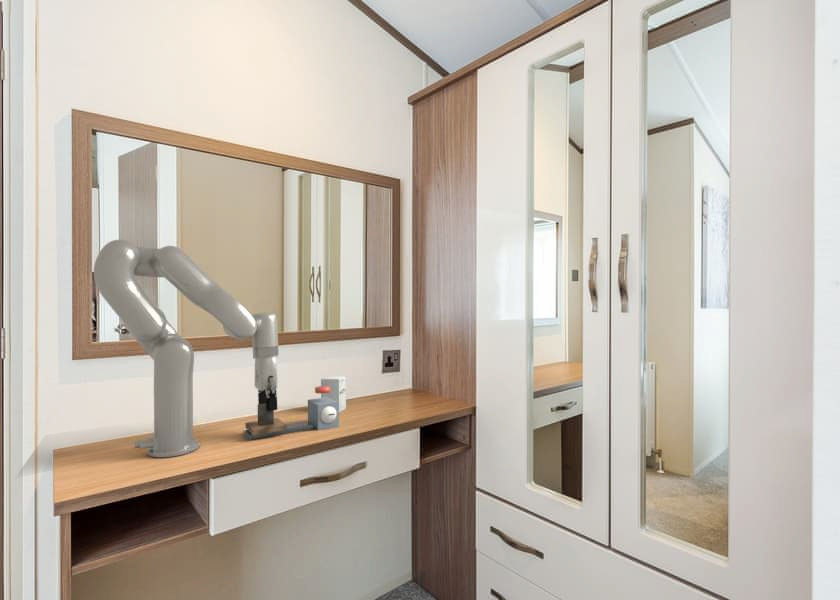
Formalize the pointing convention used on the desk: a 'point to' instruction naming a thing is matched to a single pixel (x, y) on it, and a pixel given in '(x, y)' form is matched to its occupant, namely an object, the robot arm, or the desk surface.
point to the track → (290, 429)
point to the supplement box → (336, 390)
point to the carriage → (265, 422)
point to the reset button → (322, 389)
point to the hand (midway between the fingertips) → (267, 407)
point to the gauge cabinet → (323, 413)
